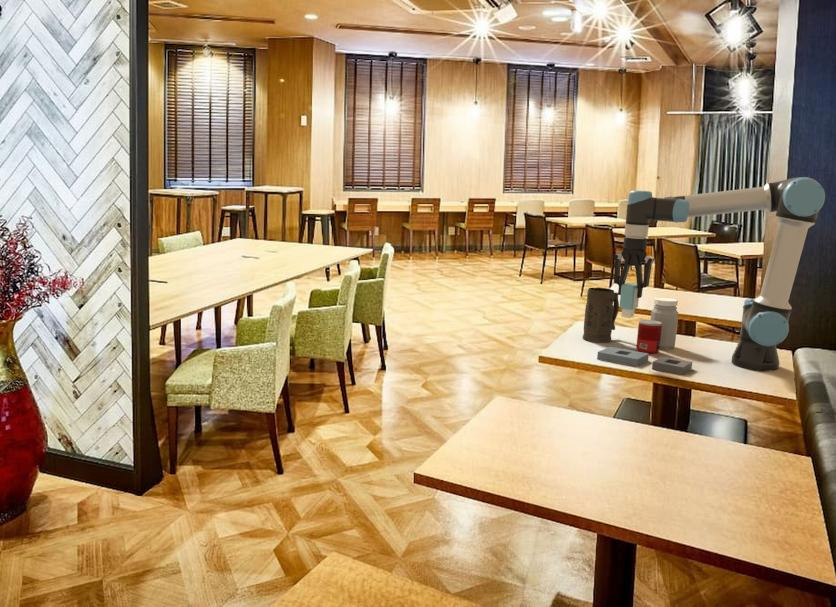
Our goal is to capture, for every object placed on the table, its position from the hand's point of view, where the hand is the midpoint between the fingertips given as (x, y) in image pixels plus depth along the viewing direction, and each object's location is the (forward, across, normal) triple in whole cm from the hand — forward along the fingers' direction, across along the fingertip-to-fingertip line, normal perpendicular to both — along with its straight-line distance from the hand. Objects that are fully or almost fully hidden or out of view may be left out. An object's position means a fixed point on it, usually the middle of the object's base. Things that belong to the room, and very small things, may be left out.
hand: (628, 305), depth 266 cm
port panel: (+19, 0, 0) cm, 19 cm away
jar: (+19, -3, -31) cm, 37 cm away
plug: (+4, 0, 0) cm, 4 cm away
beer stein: (+19, +19, -26) cm, 38 cm away
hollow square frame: (+19, -17, 0) cm, 25 cm away
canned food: (+19, -2, -19) cm, 27 cm away
